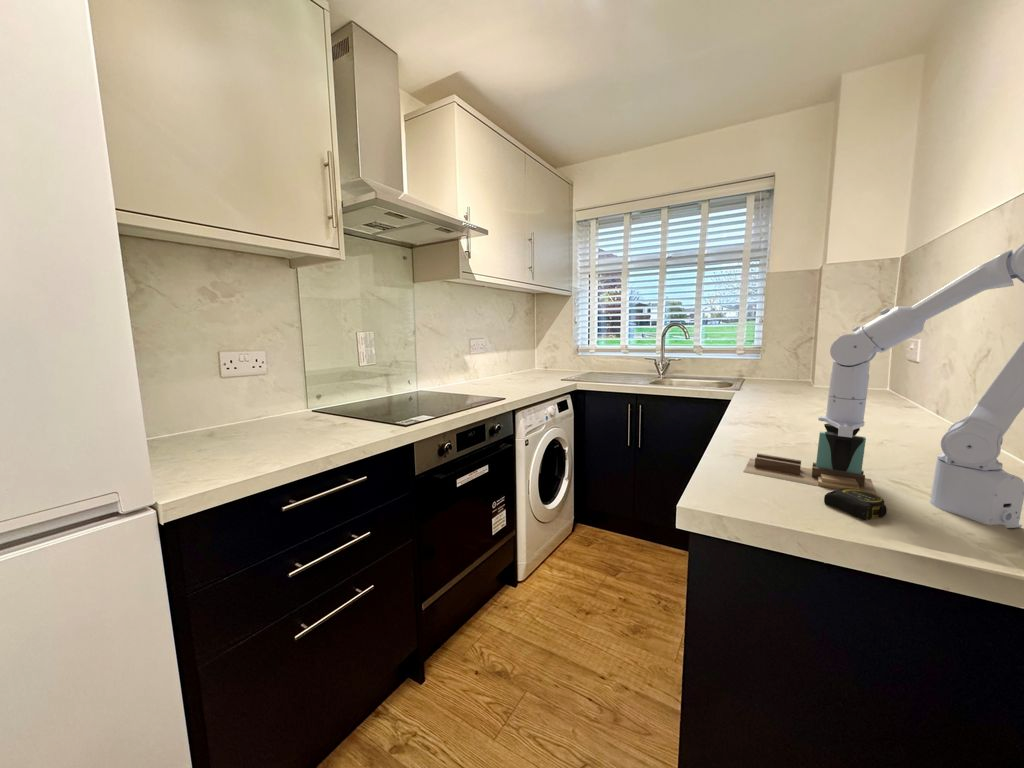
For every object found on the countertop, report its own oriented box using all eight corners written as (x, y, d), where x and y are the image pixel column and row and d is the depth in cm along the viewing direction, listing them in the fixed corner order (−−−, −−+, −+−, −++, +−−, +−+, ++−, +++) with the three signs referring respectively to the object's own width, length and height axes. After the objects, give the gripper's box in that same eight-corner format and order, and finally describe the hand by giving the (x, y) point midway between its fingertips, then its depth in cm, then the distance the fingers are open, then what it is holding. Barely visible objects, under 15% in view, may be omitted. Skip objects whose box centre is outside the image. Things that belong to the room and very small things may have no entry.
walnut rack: (876, 502, 73) (878, 486, 72) (742, 476, 85) (744, 462, 85) (870, 483, 82) (872, 469, 81) (749, 462, 94) (750, 449, 94)
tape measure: (820, 509, 71) (822, 488, 70) (851, 505, 72) (854, 485, 72) (861, 528, 64) (864, 505, 63) (895, 523, 65) (898, 501, 65)
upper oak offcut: (857, 487, 75) (857, 483, 75) (821, 481, 78) (822, 477, 78) (854, 483, 77) (855, 479, 77) (820, 477, 80) (820, 473, 80)
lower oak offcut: (858, 493, 75) (859, 488, 74) (818, 485, 78) (818, 481, 78) (857, 487, 77) (858, 483, 77) (817, 480, 81) (818, 476, 80)
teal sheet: (859, 484, 79) (865, 438, 78) (814, 476, 83) (819, 432, 82) (859, 481, 80) (865, 437, 79) (814, 473, 84) (819, 431, 83)
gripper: (820, 390, 87) (813, 452, 89) (821, 400, 76) (813, 470, 78) (864, 394, 83) (855, 458, 85) (871, 404, 72) (861, 479, 74)
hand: (838, 464), depth 81 cm, fingers open, 7 cm apart
